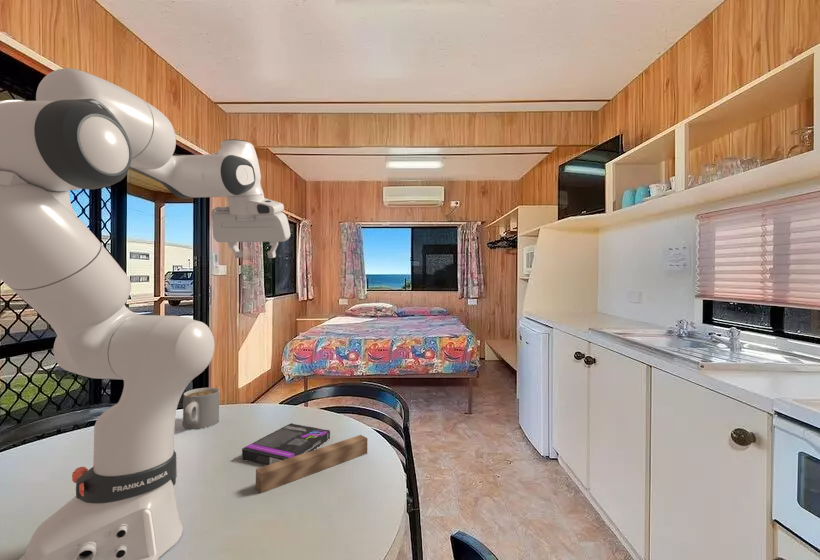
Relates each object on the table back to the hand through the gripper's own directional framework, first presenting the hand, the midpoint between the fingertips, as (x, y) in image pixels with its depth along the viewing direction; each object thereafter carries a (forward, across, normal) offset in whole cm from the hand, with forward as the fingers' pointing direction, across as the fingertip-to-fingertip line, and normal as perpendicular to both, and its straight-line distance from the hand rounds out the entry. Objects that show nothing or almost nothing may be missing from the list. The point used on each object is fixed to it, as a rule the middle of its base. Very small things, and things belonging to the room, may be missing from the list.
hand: (255, 257), depth 102 cm
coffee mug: (+53, -26, -4) cm, 59 cm away
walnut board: (+46, +21, -25) cm, 57 cm away
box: (+50, +10, -16) cm, 53 cm away
